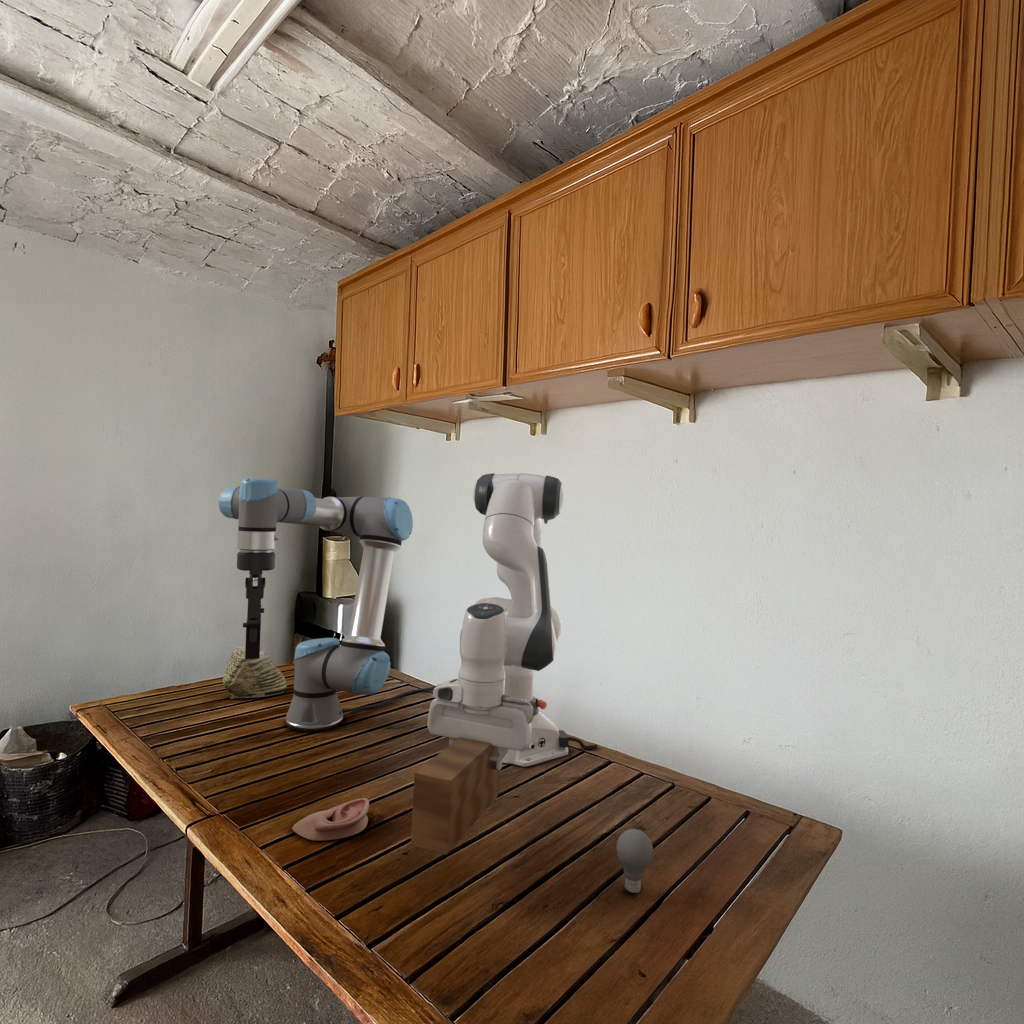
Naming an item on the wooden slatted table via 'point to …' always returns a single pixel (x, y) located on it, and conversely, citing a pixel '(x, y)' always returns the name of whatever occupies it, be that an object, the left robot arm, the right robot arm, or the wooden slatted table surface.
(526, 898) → the wooden slatted table surface
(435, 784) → the box
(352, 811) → the anatomical model
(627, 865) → the light bulb
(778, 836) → the wooden slatted table surface
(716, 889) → the wooden slatted table surface
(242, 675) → the fossil
